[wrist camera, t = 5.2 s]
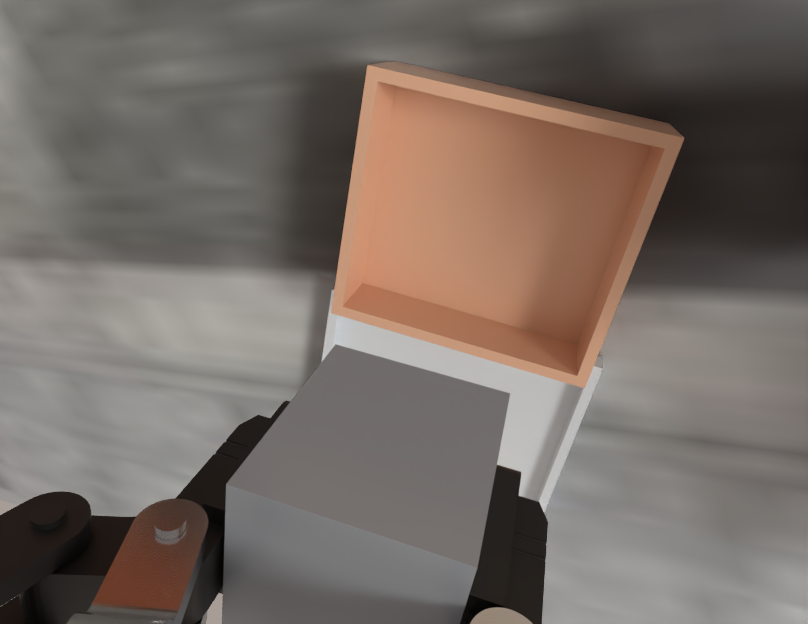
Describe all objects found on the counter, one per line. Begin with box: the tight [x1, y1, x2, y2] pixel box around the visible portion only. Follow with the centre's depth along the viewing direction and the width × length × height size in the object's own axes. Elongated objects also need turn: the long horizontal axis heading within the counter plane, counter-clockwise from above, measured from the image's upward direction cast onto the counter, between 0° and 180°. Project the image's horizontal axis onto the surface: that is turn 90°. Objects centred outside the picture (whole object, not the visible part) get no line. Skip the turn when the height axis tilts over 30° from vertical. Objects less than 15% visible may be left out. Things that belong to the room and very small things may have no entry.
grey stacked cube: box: [222, 344, 510, 624], centre depth 13 cm, size 4×4×5 cm
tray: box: [321, 287, 603, 512], centre depth 33 cm, size 14×12×1 cm
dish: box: [331, 61, 684, 388], centre depth 26 cm, size 12×11×4 cm
